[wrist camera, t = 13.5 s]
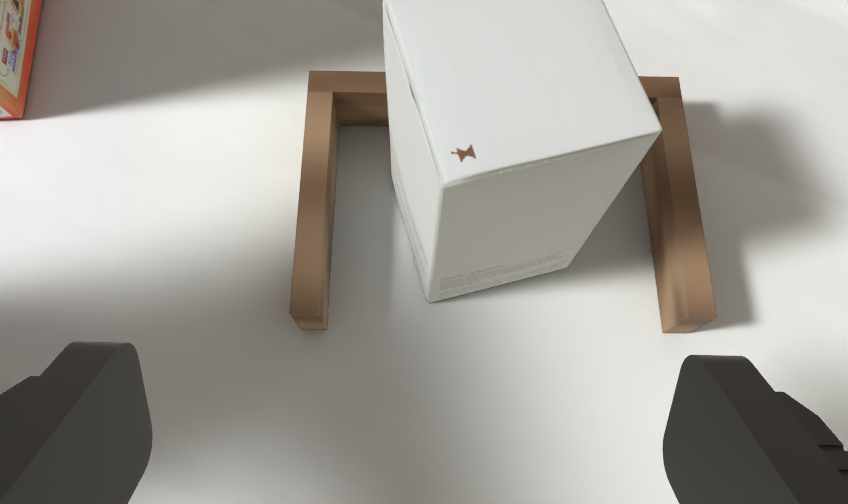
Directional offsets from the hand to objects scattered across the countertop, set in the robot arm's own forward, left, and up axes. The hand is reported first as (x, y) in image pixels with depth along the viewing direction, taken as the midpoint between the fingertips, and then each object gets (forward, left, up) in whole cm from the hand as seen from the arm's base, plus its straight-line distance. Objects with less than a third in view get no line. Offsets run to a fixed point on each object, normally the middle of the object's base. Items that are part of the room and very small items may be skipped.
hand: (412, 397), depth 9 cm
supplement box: (+11, +3, -20) cm, 23 cm away
